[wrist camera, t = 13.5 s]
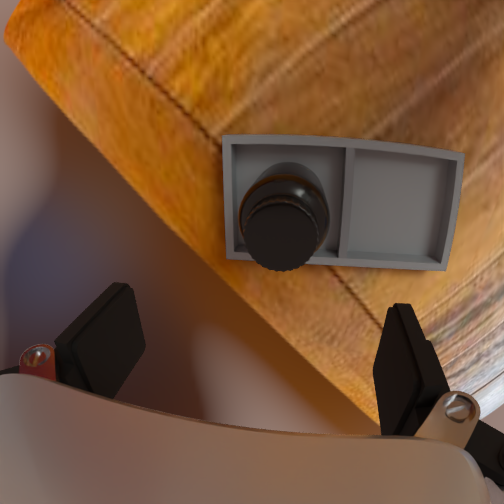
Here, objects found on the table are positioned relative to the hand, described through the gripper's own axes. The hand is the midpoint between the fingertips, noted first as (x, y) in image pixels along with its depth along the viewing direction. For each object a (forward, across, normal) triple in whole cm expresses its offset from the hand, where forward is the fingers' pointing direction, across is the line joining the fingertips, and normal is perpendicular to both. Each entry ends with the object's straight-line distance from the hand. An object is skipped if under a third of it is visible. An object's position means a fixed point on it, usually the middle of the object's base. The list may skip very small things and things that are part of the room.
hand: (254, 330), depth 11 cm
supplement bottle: (+22, 0, 0) cm, 22 cm away
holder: (+22, -5, 0) cm, 23 cm away
